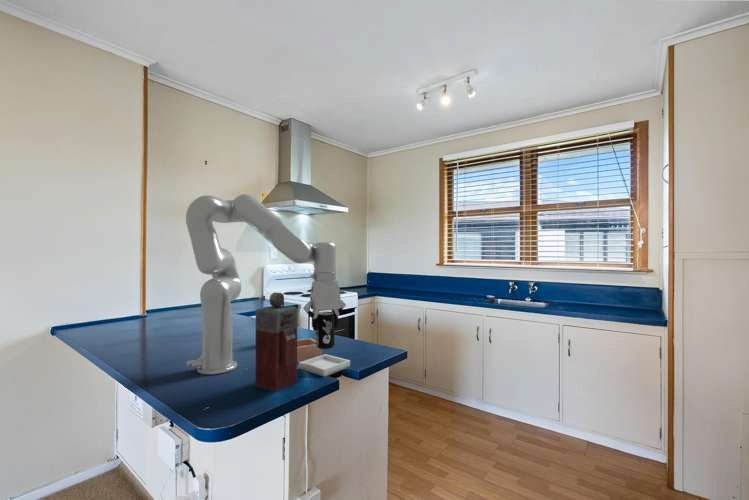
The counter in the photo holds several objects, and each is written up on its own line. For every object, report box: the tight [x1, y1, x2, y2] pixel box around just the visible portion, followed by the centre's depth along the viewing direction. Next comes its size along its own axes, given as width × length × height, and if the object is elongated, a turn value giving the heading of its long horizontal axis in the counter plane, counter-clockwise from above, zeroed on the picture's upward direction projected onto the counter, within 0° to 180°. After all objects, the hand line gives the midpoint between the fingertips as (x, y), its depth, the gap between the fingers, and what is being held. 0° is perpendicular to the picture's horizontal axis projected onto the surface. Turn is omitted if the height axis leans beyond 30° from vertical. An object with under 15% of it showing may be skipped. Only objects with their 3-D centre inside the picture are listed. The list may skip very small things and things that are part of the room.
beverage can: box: [315, 310, 336, 350], centre depth 121 cm, size 7×7×12 cm
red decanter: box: [254, 292, 298, 392], centre depth 105 cm, size 9×11×28 cm
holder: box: [297, 337, 323, 364], centre depth 133 cm, size 11×11×6 cm
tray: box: [298, 353, 351, 378], centre depth 120 cm, size 13×13×2 cm
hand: (325, 327), depth 121 cm, fingers closed on beverage can, 6 cm apart
